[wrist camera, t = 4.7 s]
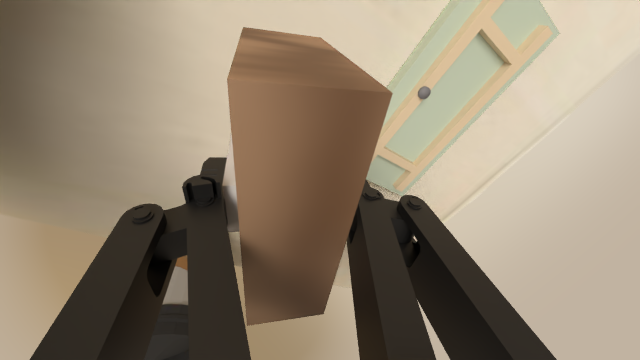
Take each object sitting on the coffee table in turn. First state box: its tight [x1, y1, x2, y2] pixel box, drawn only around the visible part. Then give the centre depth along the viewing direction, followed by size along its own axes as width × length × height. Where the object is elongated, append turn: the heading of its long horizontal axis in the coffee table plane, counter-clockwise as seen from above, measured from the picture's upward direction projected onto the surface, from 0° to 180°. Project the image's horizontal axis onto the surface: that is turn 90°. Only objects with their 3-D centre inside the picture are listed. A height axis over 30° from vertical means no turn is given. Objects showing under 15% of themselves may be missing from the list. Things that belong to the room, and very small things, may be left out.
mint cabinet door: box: [366, 0, 560, 196], centre depth 28 cm, size 12×24×3 cm, turn 147°
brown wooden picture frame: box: [227, 27, 393, 326], centre depth 13 cm, size 4×12×9 cm, turn 172°
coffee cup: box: [144, 255, 189, 360], centre depth 28 cm, size 8×8×15 cm
